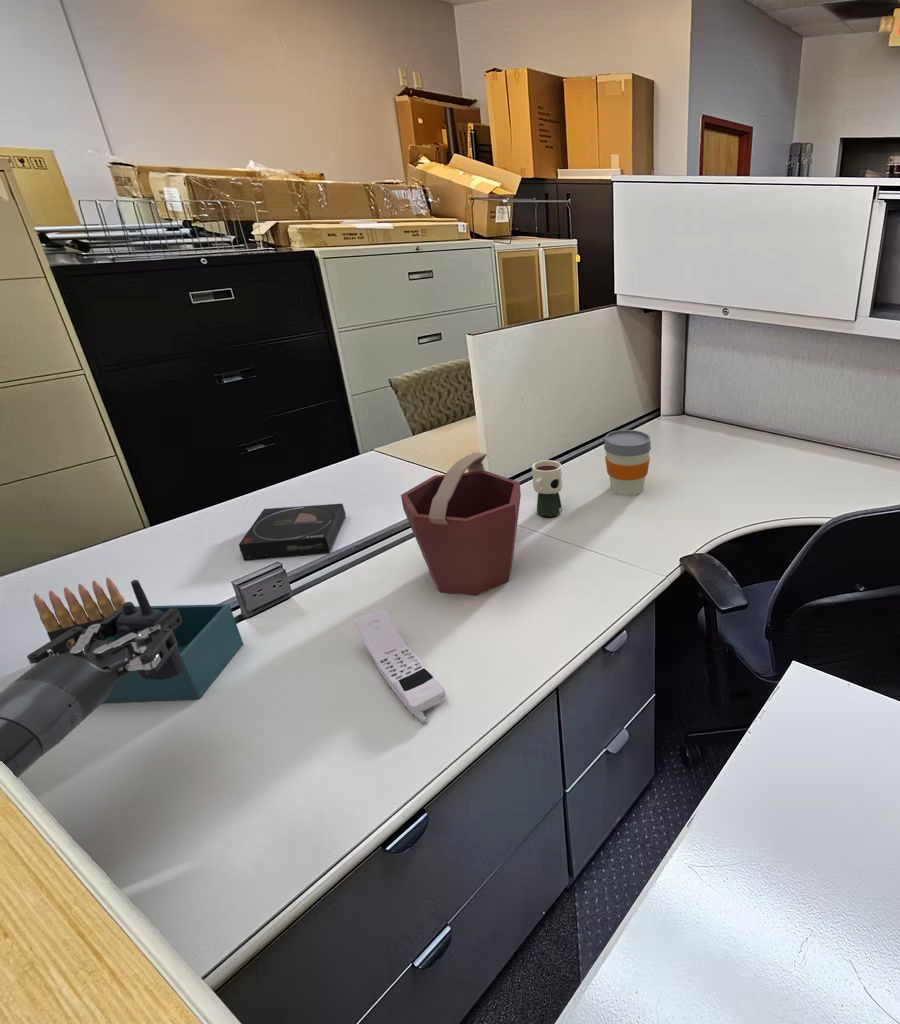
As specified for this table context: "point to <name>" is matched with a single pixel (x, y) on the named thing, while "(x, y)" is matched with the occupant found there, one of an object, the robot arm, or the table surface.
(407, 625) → the table surface
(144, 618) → the two-way radio
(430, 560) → the bucket
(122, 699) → the bin
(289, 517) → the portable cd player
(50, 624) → the ammunition clip
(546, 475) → the character mug
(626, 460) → the reusable coffee cup
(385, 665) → the mobile phone
